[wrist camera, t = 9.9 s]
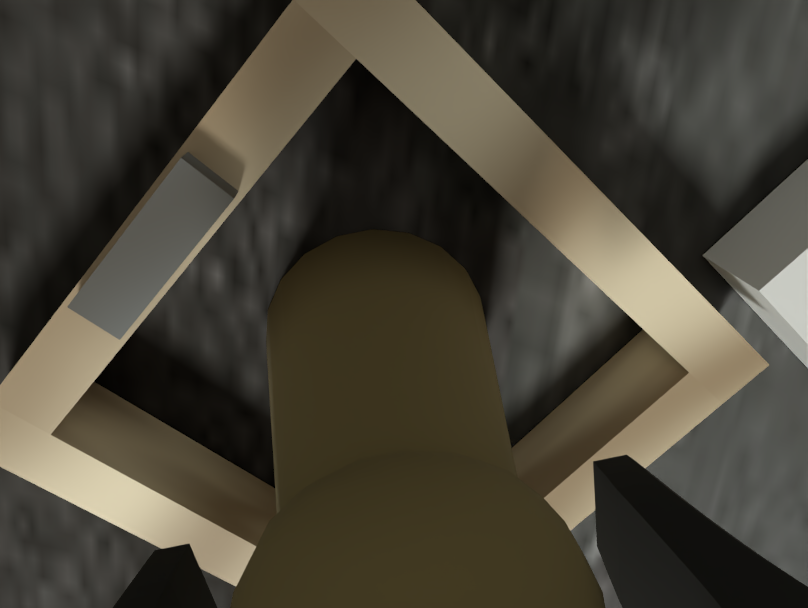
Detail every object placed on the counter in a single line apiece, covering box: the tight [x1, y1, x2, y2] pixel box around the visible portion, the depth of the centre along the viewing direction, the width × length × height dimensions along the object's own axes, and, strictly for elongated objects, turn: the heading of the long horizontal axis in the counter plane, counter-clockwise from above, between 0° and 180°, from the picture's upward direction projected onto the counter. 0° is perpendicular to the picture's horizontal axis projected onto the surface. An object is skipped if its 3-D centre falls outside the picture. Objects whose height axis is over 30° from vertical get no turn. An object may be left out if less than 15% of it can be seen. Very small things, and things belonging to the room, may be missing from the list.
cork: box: [230, 229, 605, 608], centre depth 12 cm, size 6×6×11 cm
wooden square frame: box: [0, 0, 769, 586], centre depth 16 cm, size 14×14×3 cm
